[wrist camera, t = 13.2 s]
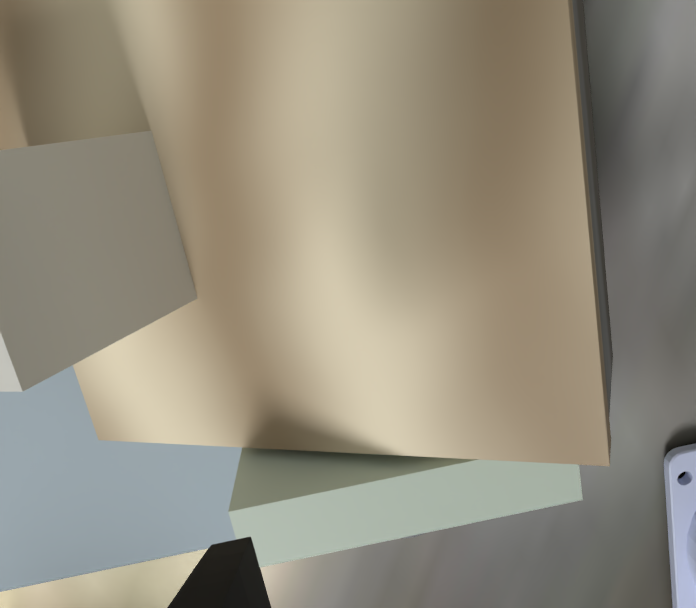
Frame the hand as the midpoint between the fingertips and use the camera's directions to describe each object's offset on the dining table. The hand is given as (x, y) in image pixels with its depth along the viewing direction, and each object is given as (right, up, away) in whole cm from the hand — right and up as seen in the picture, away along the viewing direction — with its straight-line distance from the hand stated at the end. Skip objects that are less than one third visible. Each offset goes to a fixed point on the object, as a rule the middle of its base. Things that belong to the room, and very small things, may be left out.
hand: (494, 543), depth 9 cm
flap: (-3, +7, +8) cm, 11 cm away
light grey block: (-8, +5, +6) cm, 11 cm away
